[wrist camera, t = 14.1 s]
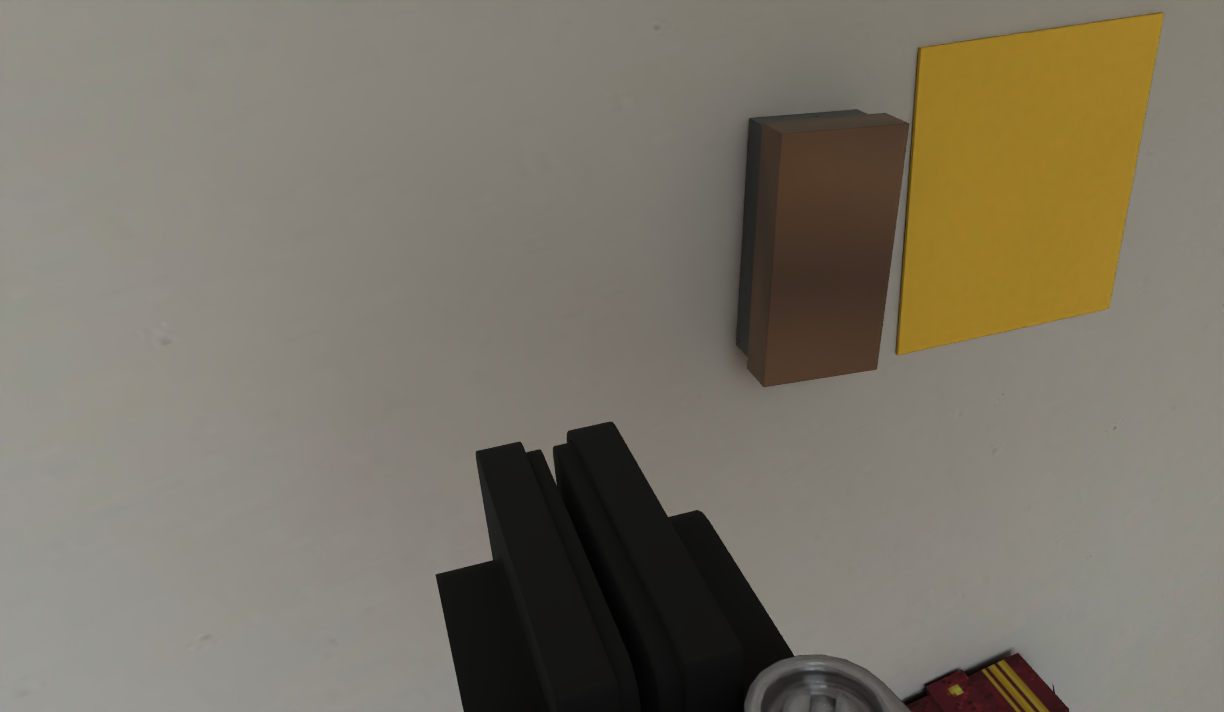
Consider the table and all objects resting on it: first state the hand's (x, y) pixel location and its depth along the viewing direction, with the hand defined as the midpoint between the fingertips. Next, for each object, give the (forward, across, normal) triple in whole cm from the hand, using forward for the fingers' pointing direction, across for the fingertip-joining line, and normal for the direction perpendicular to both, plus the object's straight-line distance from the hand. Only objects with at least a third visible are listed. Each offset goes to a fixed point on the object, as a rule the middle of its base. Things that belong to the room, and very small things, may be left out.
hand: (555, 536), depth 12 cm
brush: (+21, -13, +6) cm, 26 cm away
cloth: (+21, -23, +6) cm, 32 cm away
